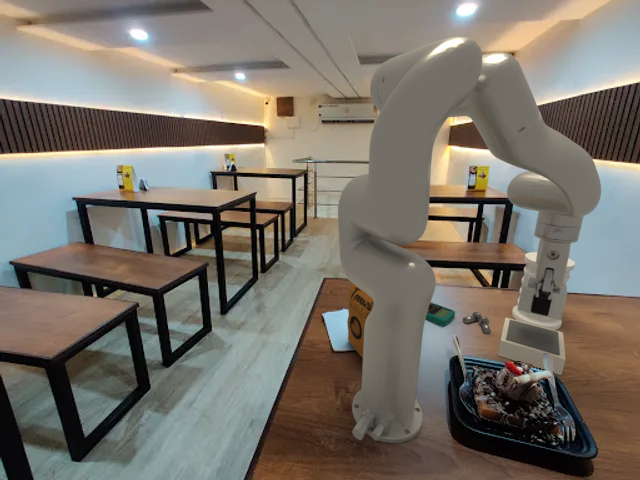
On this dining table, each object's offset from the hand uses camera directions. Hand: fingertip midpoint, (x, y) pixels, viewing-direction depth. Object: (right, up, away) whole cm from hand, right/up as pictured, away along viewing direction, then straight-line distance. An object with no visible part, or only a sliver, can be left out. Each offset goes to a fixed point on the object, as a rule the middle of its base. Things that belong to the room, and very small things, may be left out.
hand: (539, 306), depth 72 cm
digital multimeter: (-19, -7, +20) cm, 29 cm away
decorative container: (+11, -7, +17) cm, 22 cm away
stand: (0, -11, +3) cm, 12 cm away
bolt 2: (-6, -9, +12) cm, 16 cm away
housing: (0, -1, 0) cm, 1 cm away
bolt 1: (-8, -7, +16) cm, 19 cm away
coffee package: (-38, -12, +4) cm, 39 cm away
